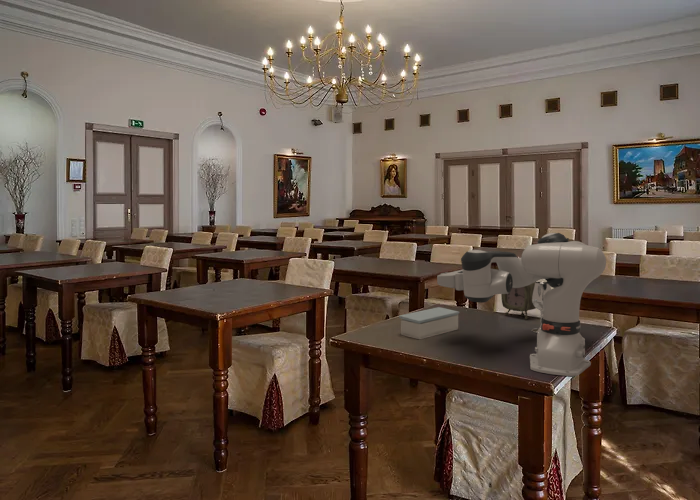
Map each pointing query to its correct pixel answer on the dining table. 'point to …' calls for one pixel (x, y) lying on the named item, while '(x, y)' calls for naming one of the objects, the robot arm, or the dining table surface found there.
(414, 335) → the white open box
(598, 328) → the dining table surface
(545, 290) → the wineglass
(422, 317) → the panel
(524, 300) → the tabletop clock
